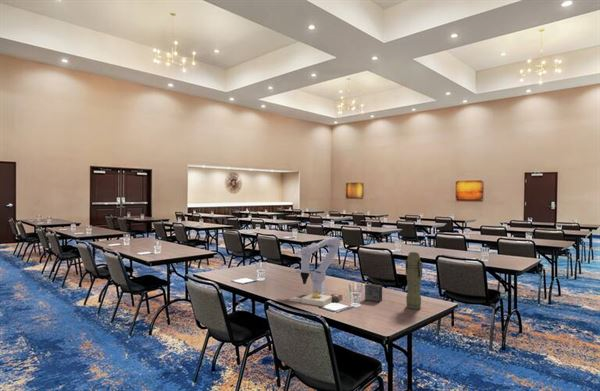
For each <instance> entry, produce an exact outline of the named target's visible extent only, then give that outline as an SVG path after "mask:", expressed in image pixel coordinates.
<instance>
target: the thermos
mask: <svg viewBox="0 0 600 391" xmlns="http://www.w3.org/2000/svg"><path fill="white" fill-rule="evenodd" d="M405 275H406V280H407V281H406V282H407V284H406V285H407V288H406V289H407V291H406V292H407V293H406V298H405V299H406V301H405V302H406V308H407V309H409V310H420V309H421V308H422V306H421V305H422V296H421V281H422V278H423V262H422V261H421V257H420V254H419V252H415V251H414V252H413V251H411V252H409V253H408V255H407V259H406V260H405Z"/></svg>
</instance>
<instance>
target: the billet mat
mask: <svg viewBox="0 0 600 391" xmlns="http://www.w3.org/2000/svg"><path fill="white" fill-rule="evenodd" d="M302 298H303V297H296V296H294V297H292V298H289V299H288V301H290V302H295V303H296V302H297V303H302Z"/></svg>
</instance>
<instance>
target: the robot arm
mask: <svg viewBox="0 0 600 391" xmlns="http://www.w3.org/2000/svg"><path fill="white" fill-rule="evenodd" d="M340 245H341V240H340V238H339V237H333V236H332V237H331V236H328V237H326V238H324V239H323V240H321V241H319V242H317V243H316V242H312V243H311V244H310V245H306V246H303V247H302V248H300V249H301V250H300V251H299V253H300V256H301V263H300V264H301V266H300V269H297V268H296V269H294V270H295V271H294V273H300V278H301V280H302V284H303V285H306V284H307V281H308V278H309V276H310V279H311V282H312V293H313V292H314V291H320V295H326V292H325V282H324V281H325V278H326V277H327V273H326V271H327V269H328V268H329V266H330V265H331V263H332V261H334V259H335V257H336V255H337V253H338V251H339V247H340ZM325 246H327V248H328V250H329V251H328V253H327V254H326V255H325V257H324V259H323V260H322V262H321V264H320V265H319V267H318V268H316V269H314V270H310V259H311V256H312V254H313V253H315V252H317V251H319V250H320V248H323V247H325Z"/></svg>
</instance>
